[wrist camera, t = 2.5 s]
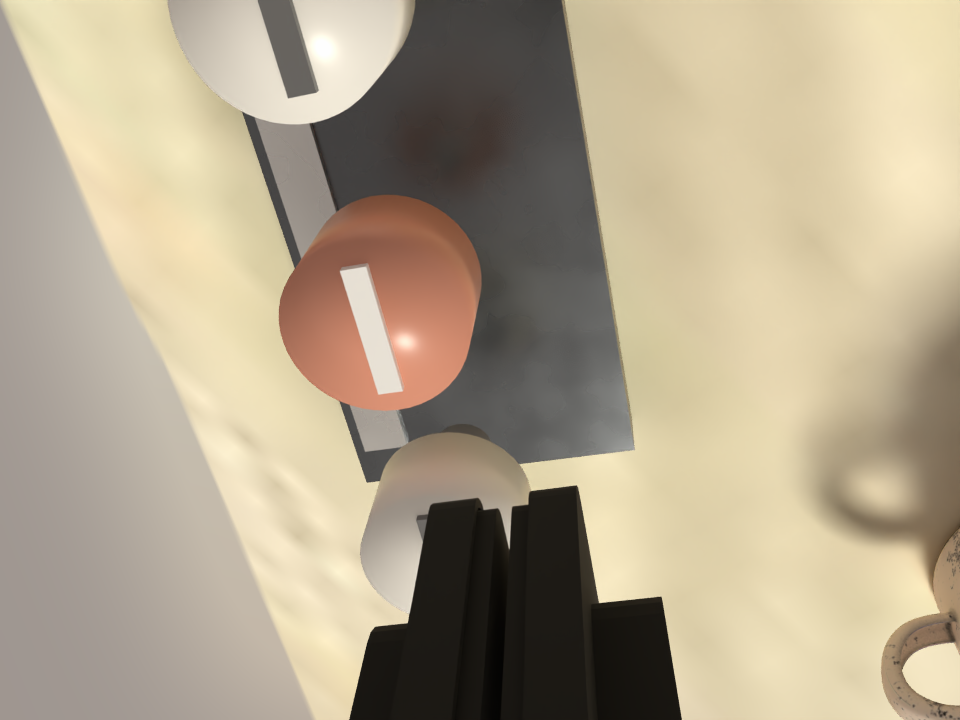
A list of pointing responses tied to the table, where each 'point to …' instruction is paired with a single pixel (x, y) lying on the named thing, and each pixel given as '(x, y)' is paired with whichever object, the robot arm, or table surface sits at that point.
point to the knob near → (291, 51)
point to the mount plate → (480, 222)
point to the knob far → (433, 501)
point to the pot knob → (383, 303)
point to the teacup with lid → (926, 641)
